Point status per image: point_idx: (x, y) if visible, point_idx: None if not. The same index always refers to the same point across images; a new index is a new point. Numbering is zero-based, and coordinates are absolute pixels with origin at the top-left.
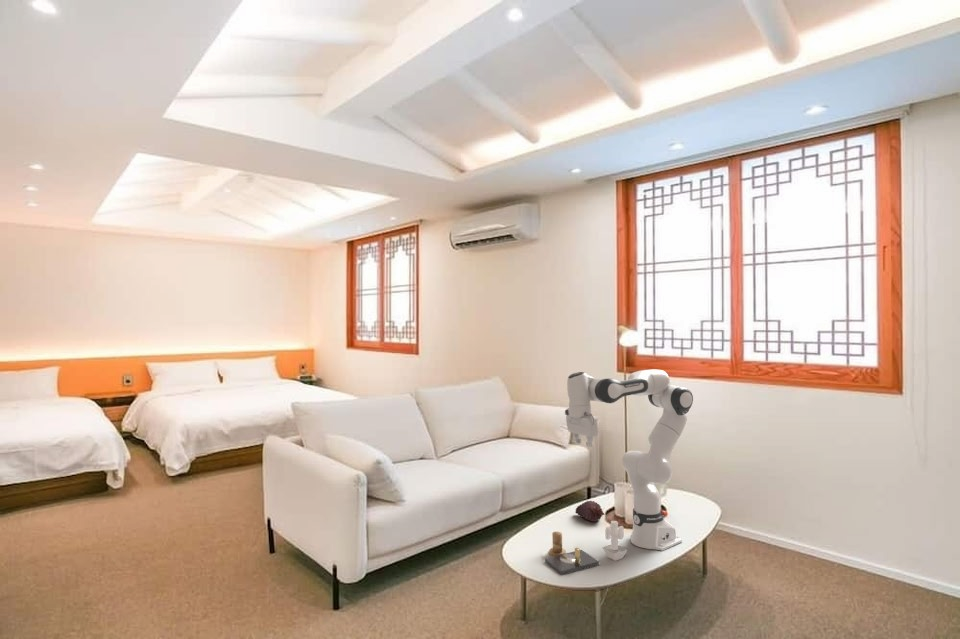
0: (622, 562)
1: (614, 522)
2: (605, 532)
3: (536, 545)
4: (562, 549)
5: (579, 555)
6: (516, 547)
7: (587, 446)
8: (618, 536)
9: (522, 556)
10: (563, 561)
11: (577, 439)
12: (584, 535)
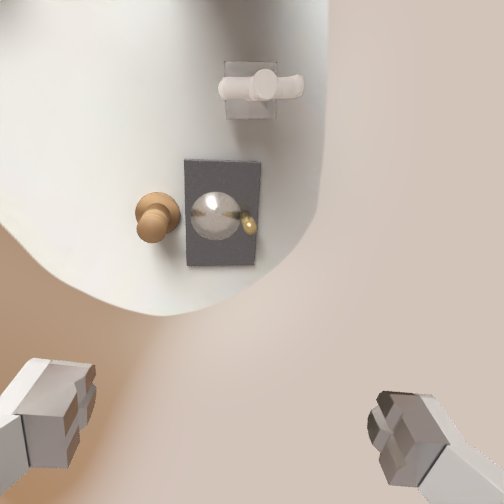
0: None
1: (271, 90)
2: (223, 98)
3: (93, 235)
4: (154, 198)
5: (254, 221)
6: (86, 281)
7: (377, 422)
8: (286, 98)
9: (138, 290)
10: (220, 238)
11: (59, 458)
12: (75, 64)
